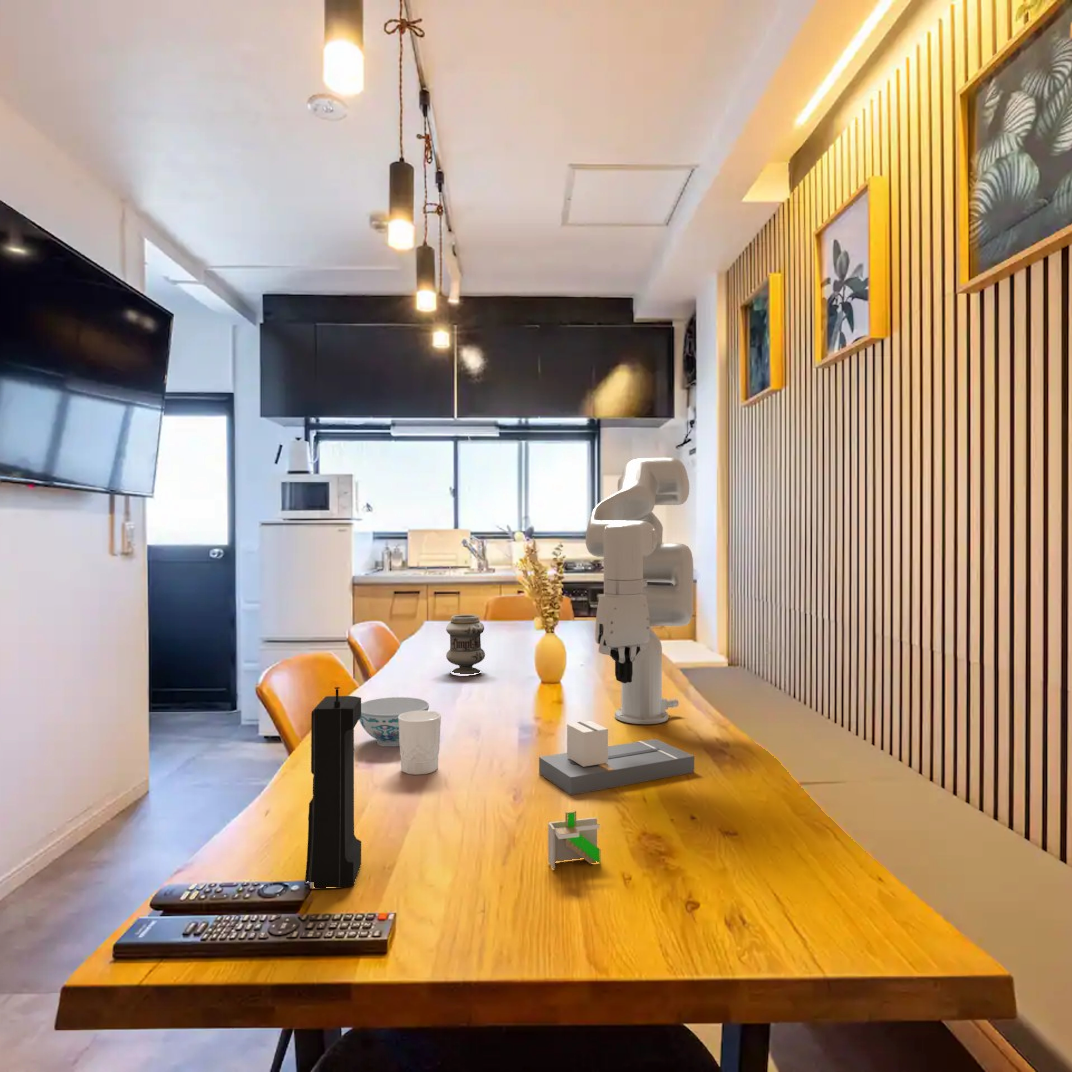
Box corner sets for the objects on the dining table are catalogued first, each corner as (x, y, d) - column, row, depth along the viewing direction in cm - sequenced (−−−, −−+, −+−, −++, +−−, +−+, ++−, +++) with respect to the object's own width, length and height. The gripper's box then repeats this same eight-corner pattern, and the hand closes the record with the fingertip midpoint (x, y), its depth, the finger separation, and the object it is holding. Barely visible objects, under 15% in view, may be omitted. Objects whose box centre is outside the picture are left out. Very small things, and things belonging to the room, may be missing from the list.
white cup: (448, 764, 136) (448, 712, 136) (428, 778, 129) (428, 722, 129) (411, 760, 139) (411, 708, 139) (390, 773, 132) (390, 719, 132)
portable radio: (317, 861, 97) (317, 676, 96) (362, 859, 97) (362, 675, 97) (303, 890, 89) (303, 689, 89) (353, 888, 89) (352, 688, 89)
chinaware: (442, 736, 155) (442, 701, 155) (401, 756, 141) (401, 717, 141) (385, 728, 161) (385, 694, 161) (341, 747, 147) (341, 709, 147)
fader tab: (590, 753, 133) (590, 720, 133) (607, 762, 127) (608, 728, 127) (566, 756, 131) (566, 723, 131) (583, 766, 125) (583, 732, 125)
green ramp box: (606, 874, 94) (606, 813, 94) (556, 880, 92) (556, 818, 92) (596, 860, 98) (596, 802, 98) (548, 866, 96) (548, 807, 96)
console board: (655, 754, 143) (655, 738, 143) (694, 772, 132) (694, 755, 132) (539, 773, 132) (539, 756, 132) (570, 795, 121) (570, 776, 121)
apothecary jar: (451, 669, 230) (451, 613, 230) (488, 670, 228) (488, 613, 228) (441, 676, 218) (441, 617, 218) (480, 678, 216) (480, 618, 216)
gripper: (644, 582, 145) (644, 672, 146) (579, 588, 138) (580, 681, 139) (666, 586, 138) (666, 680, 139) (600, 593, 131) (601, 691, 133)
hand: (623, 681), depth 139 cm, fingers closed
